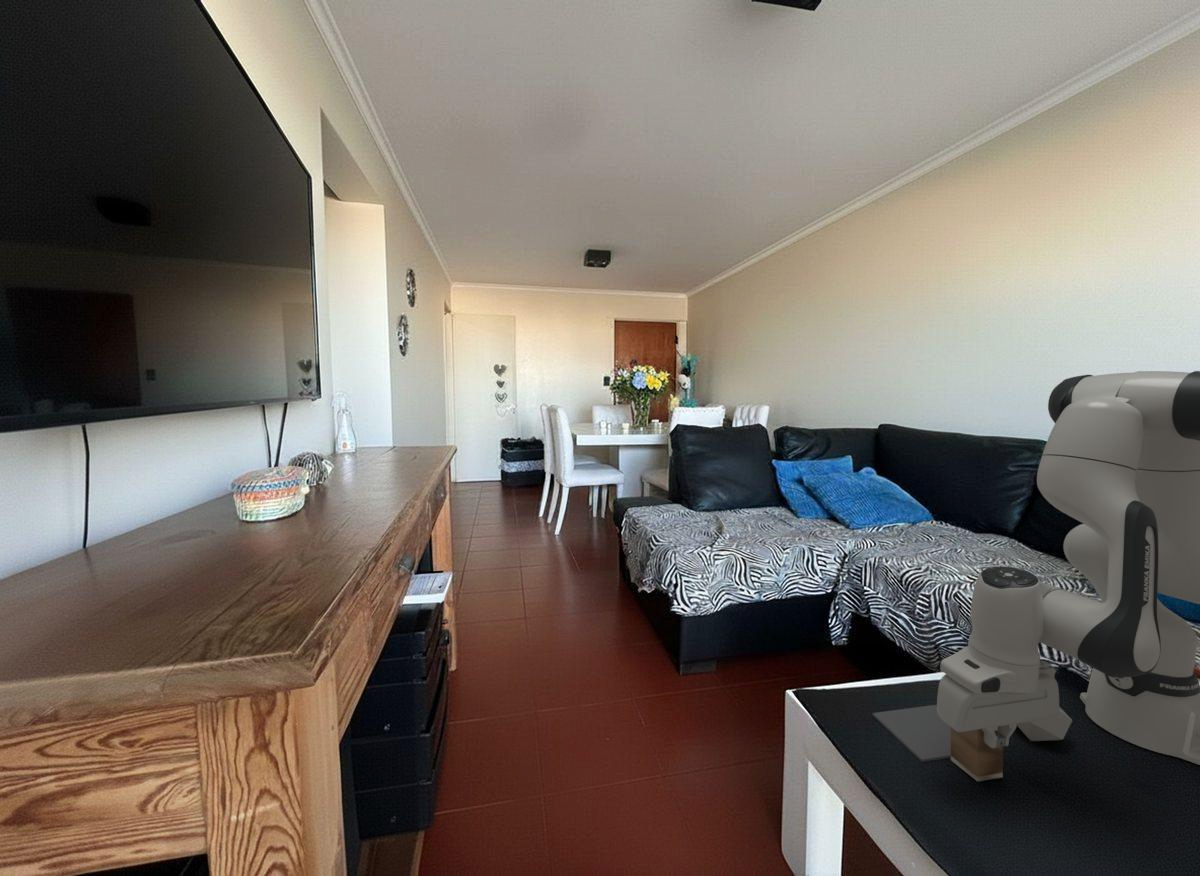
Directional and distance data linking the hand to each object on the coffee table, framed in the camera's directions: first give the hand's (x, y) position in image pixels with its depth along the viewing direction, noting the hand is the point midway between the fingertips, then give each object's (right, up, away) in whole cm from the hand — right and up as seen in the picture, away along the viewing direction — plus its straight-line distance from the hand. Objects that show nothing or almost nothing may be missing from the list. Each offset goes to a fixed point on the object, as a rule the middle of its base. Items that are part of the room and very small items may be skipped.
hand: (995, 744), depth 77 cm
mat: (-2, -6, +12) cm, 14 cm away
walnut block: (0, -7, +4) cm, 7 cm away
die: (+18, -6, +11) cm, 22 cm away
